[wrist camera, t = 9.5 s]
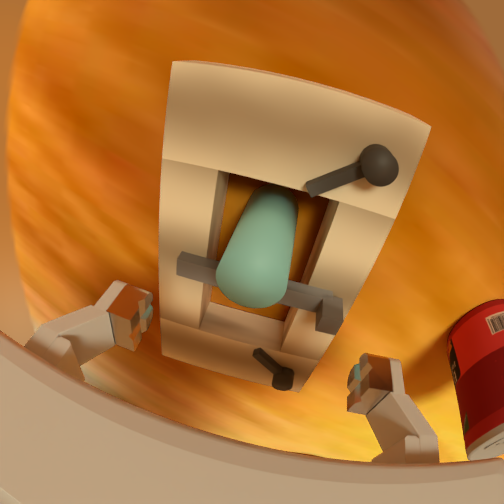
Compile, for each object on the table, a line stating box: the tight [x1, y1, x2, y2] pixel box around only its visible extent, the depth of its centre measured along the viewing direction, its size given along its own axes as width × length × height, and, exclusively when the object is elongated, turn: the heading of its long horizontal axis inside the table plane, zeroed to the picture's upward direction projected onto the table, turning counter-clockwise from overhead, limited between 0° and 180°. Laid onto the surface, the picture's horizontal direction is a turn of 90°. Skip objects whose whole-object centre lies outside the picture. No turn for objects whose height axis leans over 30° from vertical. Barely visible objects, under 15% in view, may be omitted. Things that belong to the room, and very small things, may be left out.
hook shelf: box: [159, 61, 431, 392], centre depth 18 cm, size 22×12×5 cm, turn 169°
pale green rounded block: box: [216, 184, 299, 308], centre depth 16 cm, size 3×3×7 cm
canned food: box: [447, 299, 504, 461], centre depth 16 cm, size 8×8×11 cm
